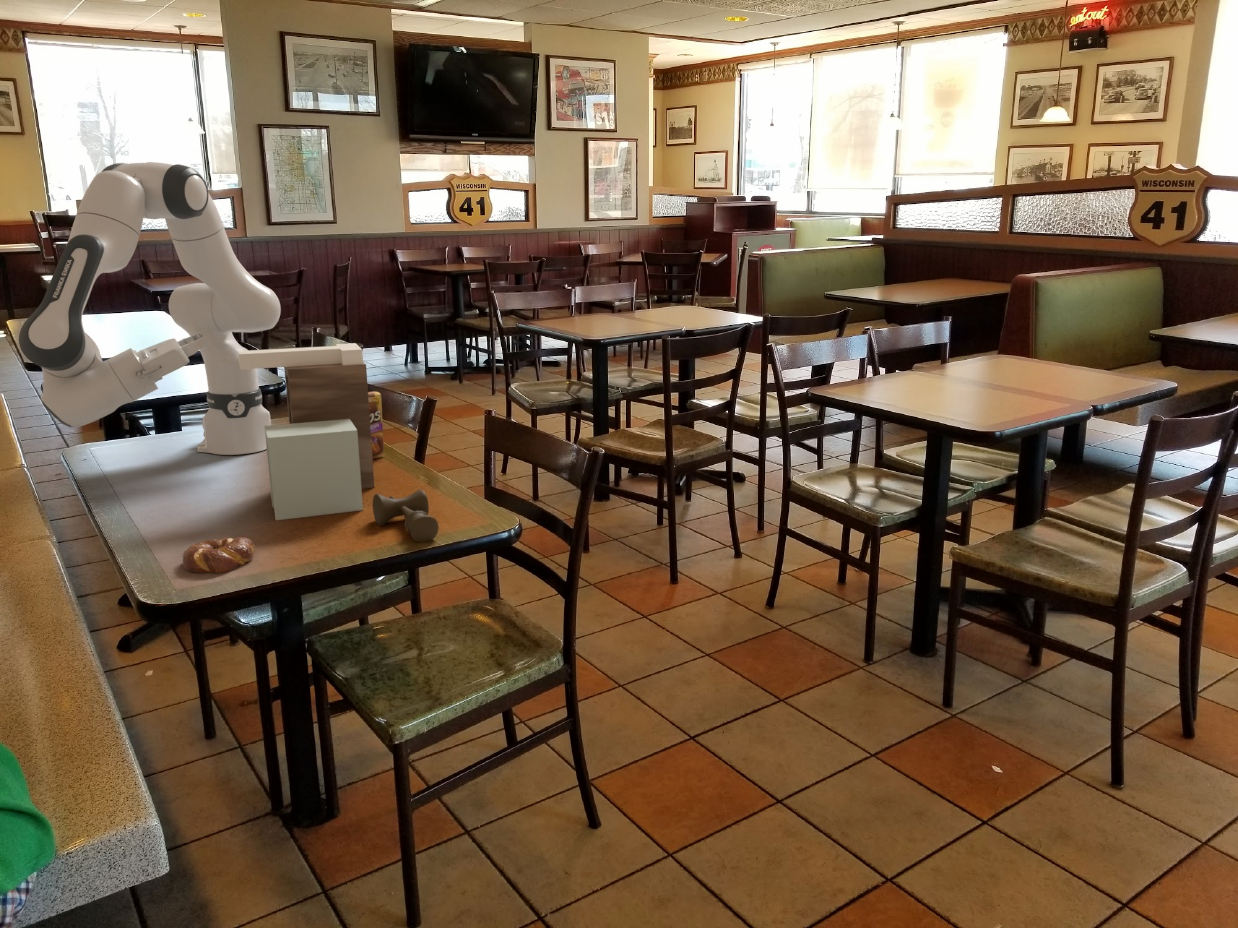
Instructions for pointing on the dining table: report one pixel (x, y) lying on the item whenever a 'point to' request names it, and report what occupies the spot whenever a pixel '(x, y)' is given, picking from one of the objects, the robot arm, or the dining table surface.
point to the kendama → (407, 514)
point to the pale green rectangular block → (314, 468)
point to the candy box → (376, 424)
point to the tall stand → (333, 403)
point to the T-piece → (301, 356)
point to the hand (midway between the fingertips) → (204, 337)
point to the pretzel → (218, 555)
